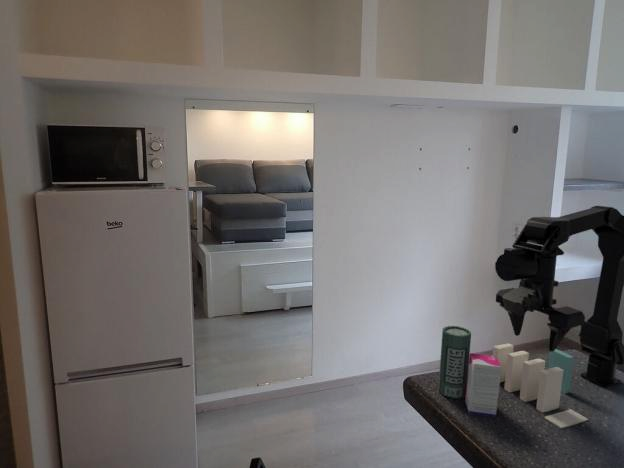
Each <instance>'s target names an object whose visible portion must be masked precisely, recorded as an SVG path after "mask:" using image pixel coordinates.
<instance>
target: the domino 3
mask: <svg viewBox="0 0 624 468" xmlns="http://www.w3.org/2000/svg"><path fill="white" fill-rule="evenodd" d="M545 367H546V360H544V359H542V358H536V359H530V360H528V361H525V362H523V372H522V381H521V390H519V391H520V392H519V400H521V401H523V402H524V403H526V402H531V401H535V400H537V398H538V389H539V380H540V372H541V370H546V369H545Z"/></svg>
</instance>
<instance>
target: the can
mask: <svg viewBox="0 0 624 468" xmlns="http://www.w3.org/2000/svg"><path fill="white" fill-rule="evenodd" d="M441 333H442V334H441V346H440V361H439V362H440V363H439V374H438V375H439V376H438V388H439V389H438V393H440V395H442V396H445V395H446V396H445V397H447V396H448V397H451V398H450V399H456V400H457V399H462V398H465V396H466V386H467V377H468V368H469V358H470V352H471V343H472V342H471V340H472V332H471V330H469V329H468V328H465V327H462V326H458V325H448V326H444V327H442V332H441Z"/></svg>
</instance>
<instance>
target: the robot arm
mask: <svg viewBox="0 0 624 468" xmlns="http://www.w3.org/2000/svg"><path fill="white" fill-rule="evenodd" d="M591 230H592V232H594V234H595V235H596V236H597V237H598V238H597V247H598V250H599V252H600V254H601V256H602V263H601V270H600V275H599V280H598V285H597V291H596V296H595V302H594V307H593V313H592V315H591V316H590V317H589V318H588V319H587V320H586V316H585V313H584V312H583V311H581V310H580V309H576V308H572V307H570V306H568V305H567V306H561V307H553V306H554V305H557V303H558V302H557V299H556V298H554V288H555V287H559V281H558V280H555V277H556V266H557V256H563V255H564V254H565V252H564V250H562V249H561V248H560V247H559V246H562V245H563V244H565V243H567V242H568V241H569V239H570V237H572V236H573V235H578V234H580V233H584V232H588V231H591ZM511 246H512V248H511V247H506V248H504V249H503V253H502V254H501V255H499V256H498V257H497V259H496V261H495V262H494V263H495V265H494V267H495V273H496V274H497V276H498V277H499V279H501V281H504V282H513V281H519V280H520V281H519V285H518V287H516V288H514V287H510V288H504V289H500V290H498V291H497V292H496V293H495V303H499V306H500V307H501V308H503V309H504V310H505V311H506V312H507V315H508V316H509V319H510V320H509V321H510V323H511V326H512V330H513V334H514V335H515V336H517V337H518V336H520V334H521V332H522V328H523V324H524V319H525V315H526V313H527V312H531V313H533V312H534V311H537V312H539V313H542V314H545V315H547V316H548V317H547V318H548V321H549V322H547V323H546V325H547V326H548V328H549V330H550V332H549V342H548V350H549V352H550V351H551V352H552V351H554V350H555V349H557V347H558V346H559V345H560V343H561V342H562V340H563V339H564V338H565V337H566V335H567V334H568V333H569V332H570V331H571V330H572V328H577V327H580V332H579V333H578V337H579V342H580V343H579V344H580V347H581V348H580V349H581V352H583V353H584V352H585V353H586V354H589V355H588V360H587V366H586V372H581V373H580V377H582V378H585V379H586V380H589V381H591V382H593V383H595V384H597V385H598V386H601V387H603V388H608V387H611V386H616V385H619V384H622V380H620V379H618V378H616V374H617V370H618V369H617V368H618V367H617V366H618V365H620V366H621V365H622V366H623V365H624V343H623V330H622V328H621V326H620V324H619V321H618V315H619V311H620V305H621V300H622V295H623V289H624V215H623V214H622V213H621V212H620V211H619V210H618V209H617V208H614V207H612V206H604V205H595V206H594V205H593V206H591V207H590V208H587V209H583V210H579V211H576V212H572V213H569V214H565V215H562V216H556V217H555V216H554V217H553V216H533V217H531V218H529V219H528V220H526V223H525V224H524V226H523V228H522V229H521V232H520V233H519V234H518V235H517V237H516V239H515V241H514V243H513V244H512V245H511Z"/></svg>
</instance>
